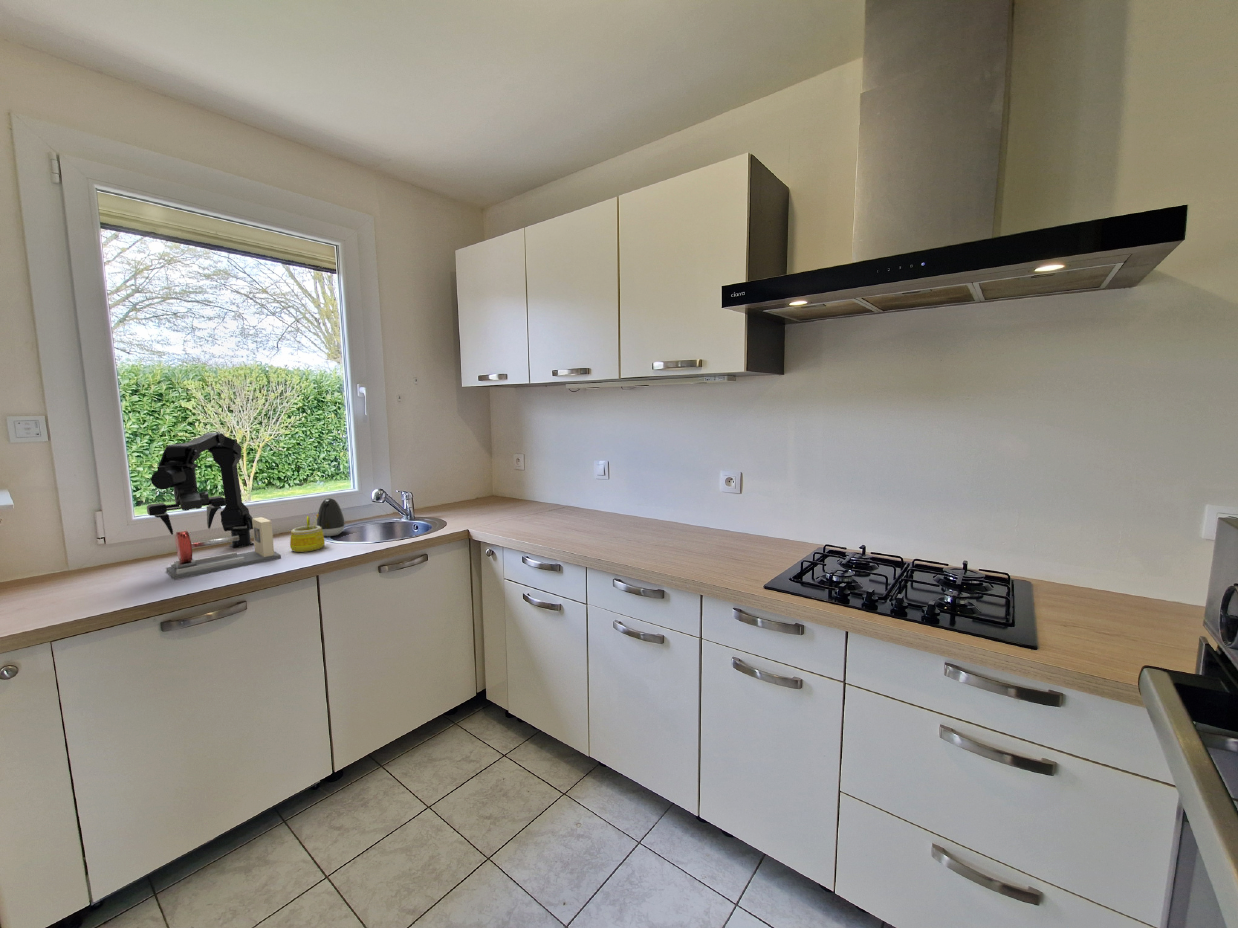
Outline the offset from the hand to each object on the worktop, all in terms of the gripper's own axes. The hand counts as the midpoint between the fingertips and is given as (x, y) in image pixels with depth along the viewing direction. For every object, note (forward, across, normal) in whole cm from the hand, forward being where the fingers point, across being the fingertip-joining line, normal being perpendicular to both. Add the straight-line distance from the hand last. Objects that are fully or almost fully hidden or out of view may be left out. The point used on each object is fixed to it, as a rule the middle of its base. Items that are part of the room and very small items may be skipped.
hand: (190, 531), depth 161 cm
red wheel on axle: (+11, +3, -3) cm, 12 cm away
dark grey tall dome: (+14, +45, +12) cm, 49 cm away
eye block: (+12, +8, -3) cm, 15 cm away
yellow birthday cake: (+13, +32, -4) cm, 35 cm away
